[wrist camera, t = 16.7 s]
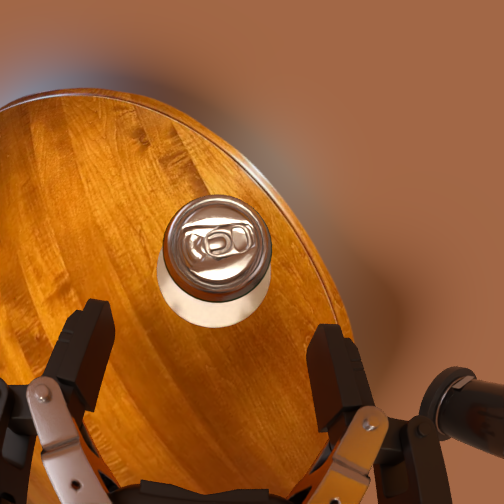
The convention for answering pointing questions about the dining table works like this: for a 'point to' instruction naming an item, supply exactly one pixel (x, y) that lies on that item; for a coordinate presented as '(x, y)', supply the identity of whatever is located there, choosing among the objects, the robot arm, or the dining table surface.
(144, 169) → the dining table surface
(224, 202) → the soda can
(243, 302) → the canister
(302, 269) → the dining table surface
